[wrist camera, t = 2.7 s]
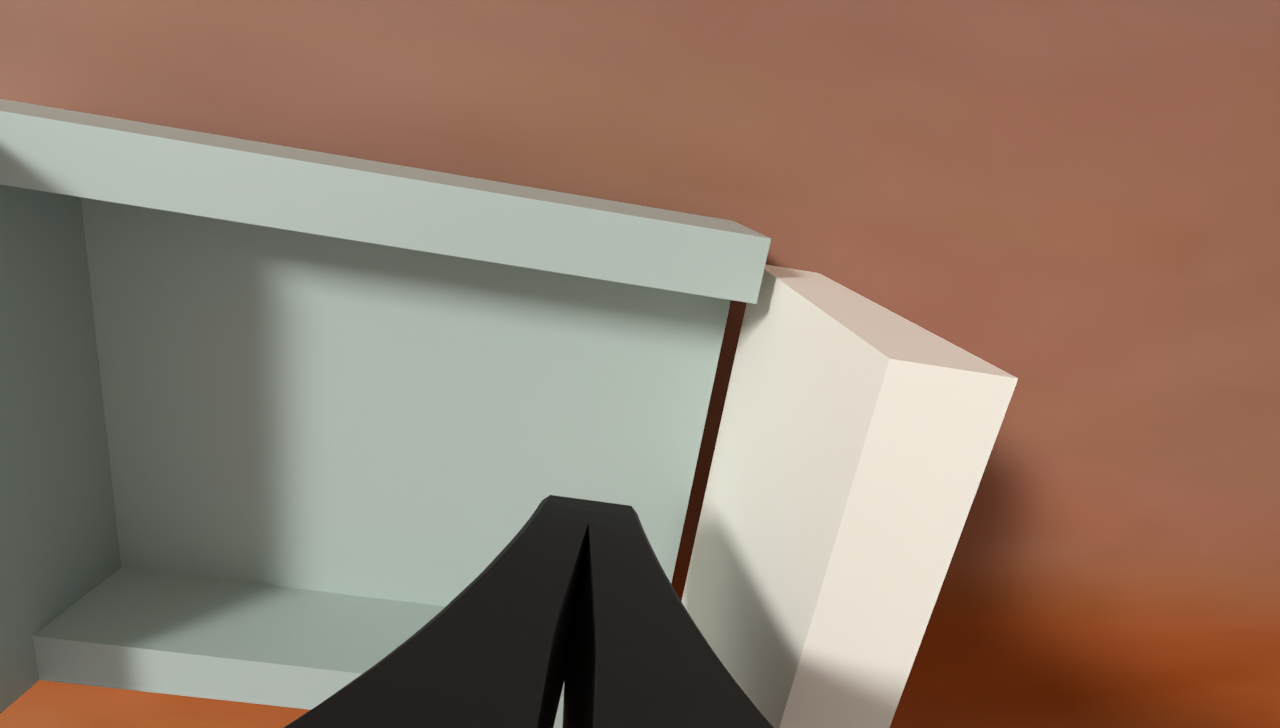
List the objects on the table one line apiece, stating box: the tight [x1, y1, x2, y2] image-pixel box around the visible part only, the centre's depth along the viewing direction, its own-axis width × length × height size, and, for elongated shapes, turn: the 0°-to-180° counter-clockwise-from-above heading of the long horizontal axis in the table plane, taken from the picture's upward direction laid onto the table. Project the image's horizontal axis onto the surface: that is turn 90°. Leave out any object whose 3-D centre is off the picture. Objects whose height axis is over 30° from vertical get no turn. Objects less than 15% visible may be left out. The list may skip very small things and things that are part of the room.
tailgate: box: [681, 264, 1018, 728], centre depth 10 cm, size 9×2×6 cm, turn 171°
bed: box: [0, 99, 771, 728], centre depth 11 cm, size 10×14×6 cm
